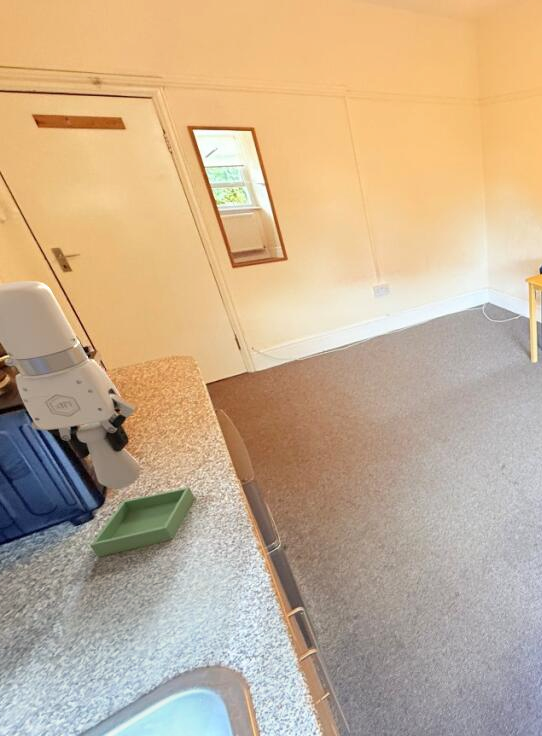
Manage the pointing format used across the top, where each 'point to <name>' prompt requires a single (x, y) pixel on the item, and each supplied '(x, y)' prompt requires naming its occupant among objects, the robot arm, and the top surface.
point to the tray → (143, 521)
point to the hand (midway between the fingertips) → (105, 449)
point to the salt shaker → (108, 458)
